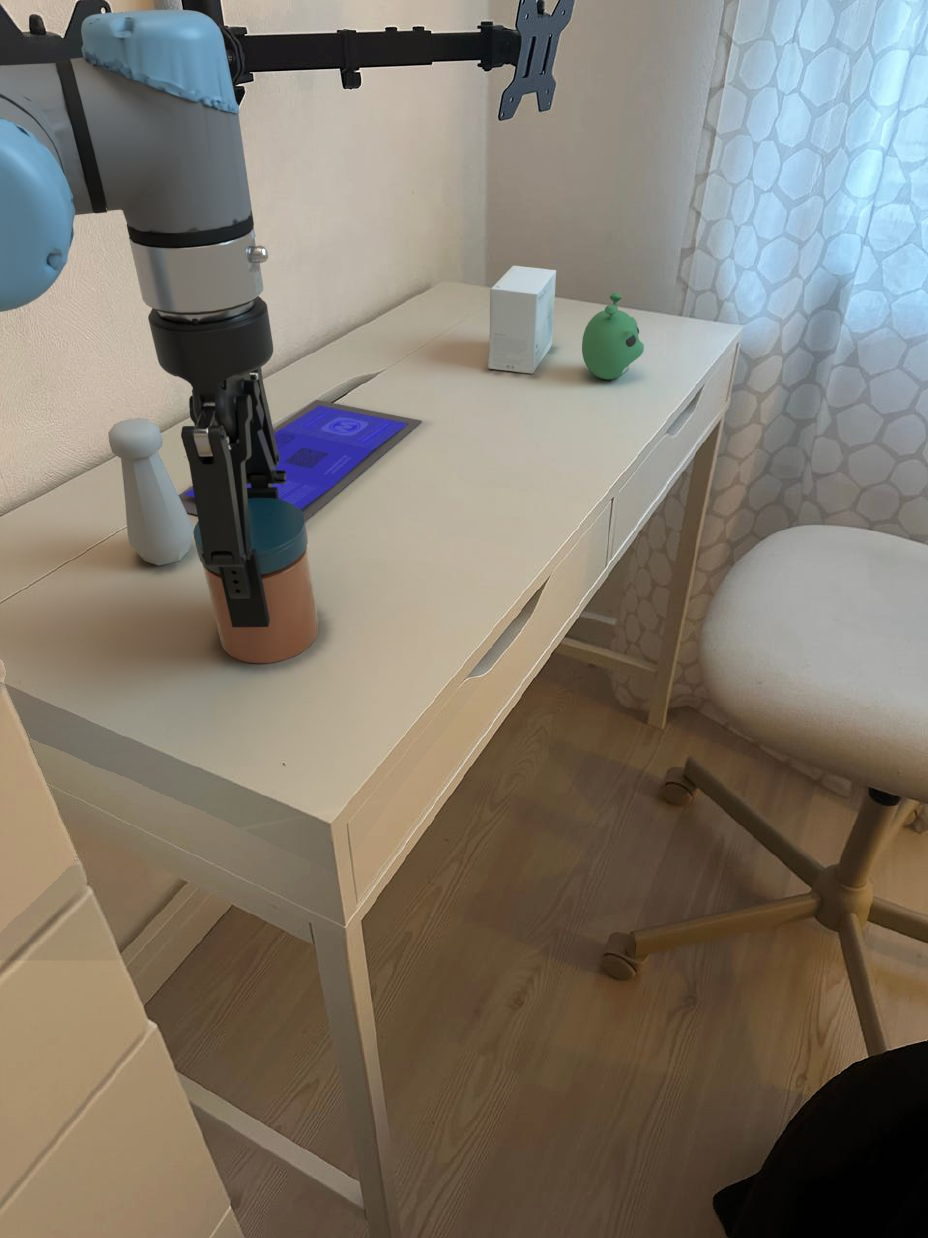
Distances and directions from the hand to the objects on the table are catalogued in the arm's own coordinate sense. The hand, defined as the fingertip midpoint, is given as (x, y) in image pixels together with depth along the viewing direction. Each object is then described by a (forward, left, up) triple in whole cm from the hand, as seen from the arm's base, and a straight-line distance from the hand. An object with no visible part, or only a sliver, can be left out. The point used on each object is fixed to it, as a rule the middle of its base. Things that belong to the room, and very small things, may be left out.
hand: (261, 589), depth 71 cm
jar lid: (0, 0, +6) cm, 6 cm away
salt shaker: (-12, +12, -5) cm, 18 cm away
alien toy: (+34, +52, -5) cm, 62 cm away
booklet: (-2, +30, -4) cm, 30 cm away
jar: (0, 0, -4) cm, 4 cm away
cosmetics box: (+23, +59, -5) cm, 63 cm away
